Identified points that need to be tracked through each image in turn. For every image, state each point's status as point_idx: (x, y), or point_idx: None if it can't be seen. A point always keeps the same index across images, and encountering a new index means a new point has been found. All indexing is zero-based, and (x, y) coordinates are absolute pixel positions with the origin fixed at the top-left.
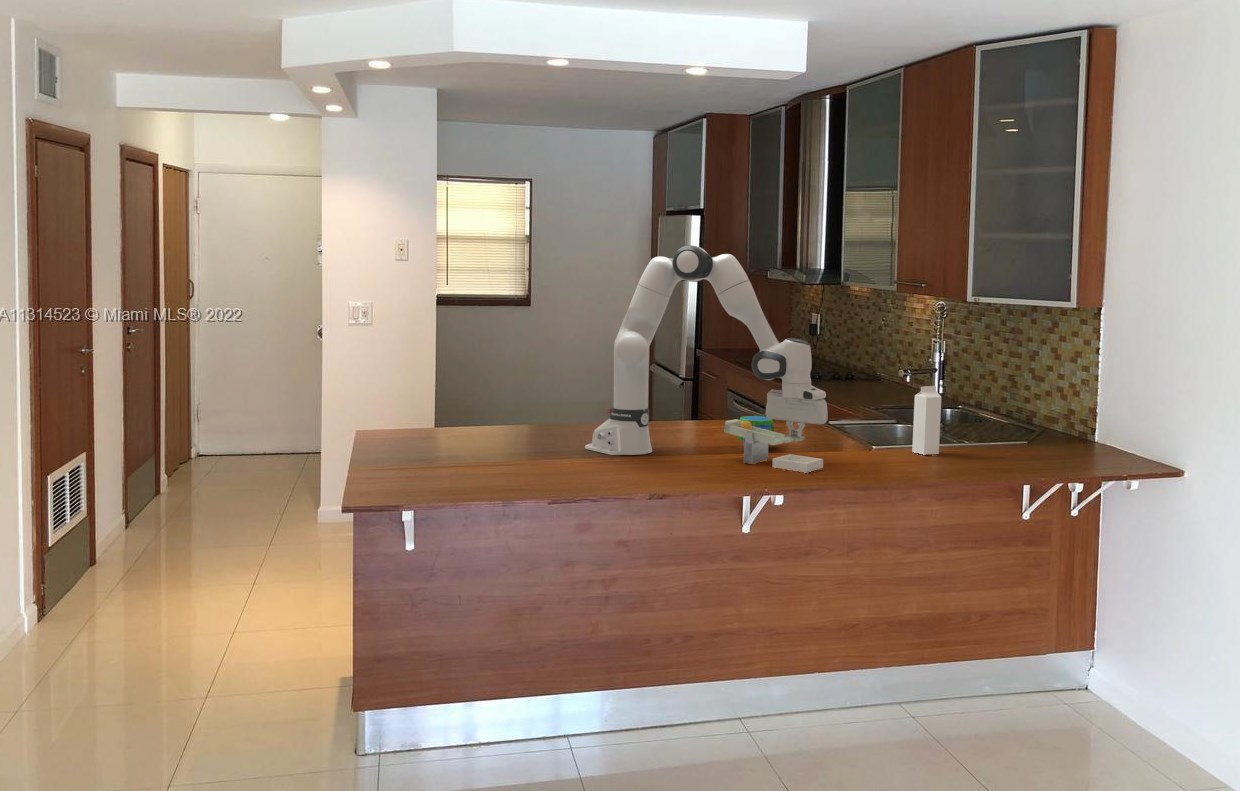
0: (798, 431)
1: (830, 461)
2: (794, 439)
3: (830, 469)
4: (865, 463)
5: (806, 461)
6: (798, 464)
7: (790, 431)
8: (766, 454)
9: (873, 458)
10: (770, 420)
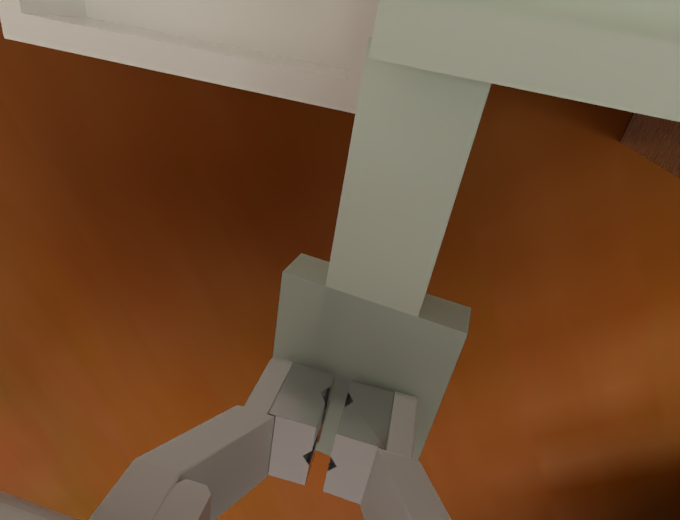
0: (251, 401)
1: (186, 328)
2: (311, 270)
3: (37, 58)
4: (33, 343)
5: (179, 39)
6: None
7: (396, 432)
8: (665, 123)
9: (84, 457)
10: None
